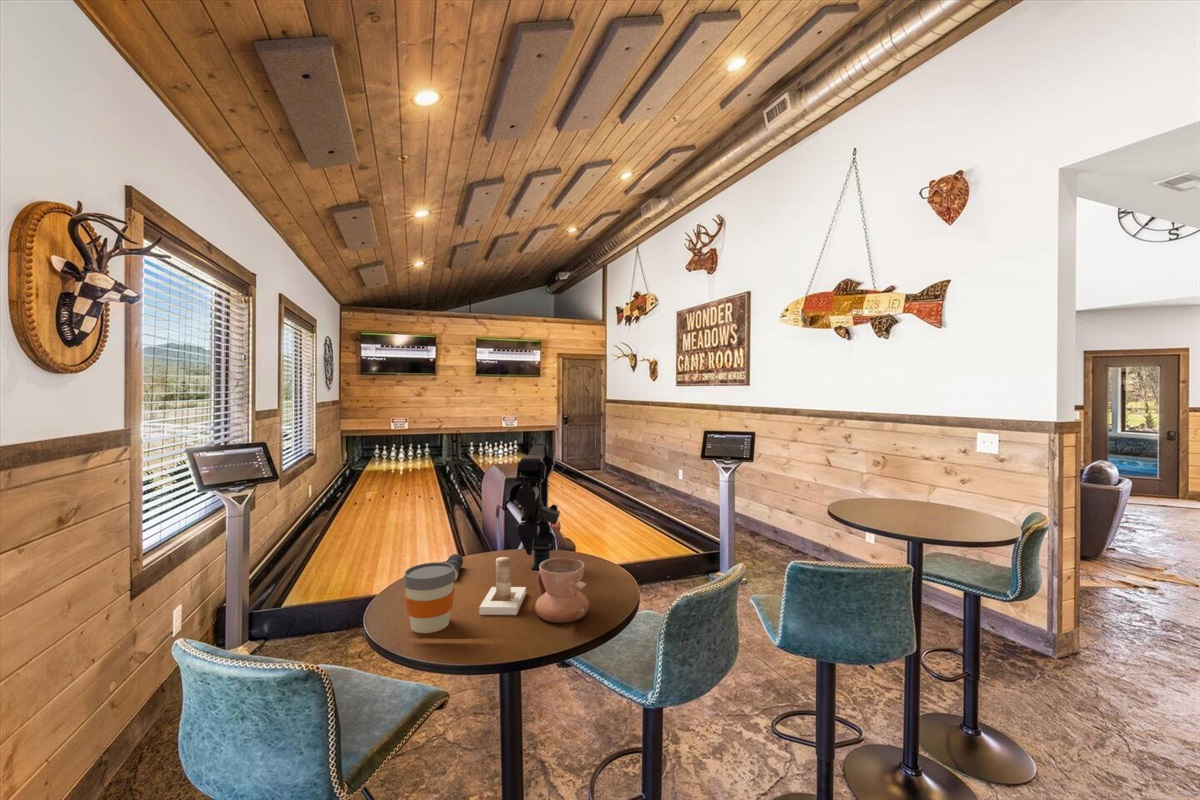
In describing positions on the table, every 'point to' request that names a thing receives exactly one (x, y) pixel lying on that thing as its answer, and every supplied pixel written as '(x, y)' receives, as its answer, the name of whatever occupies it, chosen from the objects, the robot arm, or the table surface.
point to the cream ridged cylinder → (503, 579)
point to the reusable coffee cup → (429, 595)
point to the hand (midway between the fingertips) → (532, 550)
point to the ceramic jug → (561, 590)
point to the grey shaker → (455, 563)
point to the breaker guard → (502, 602)
